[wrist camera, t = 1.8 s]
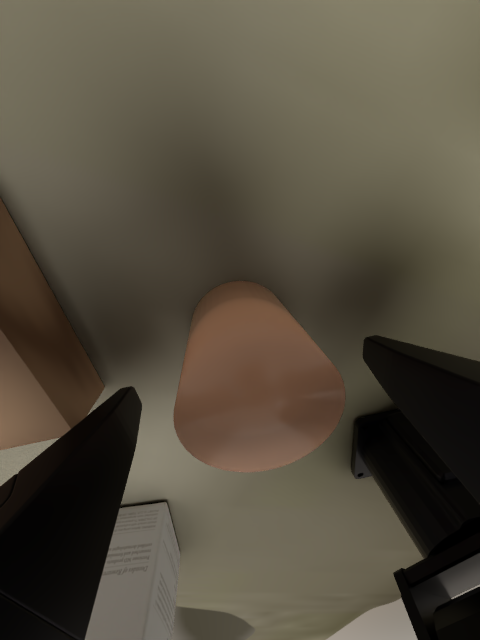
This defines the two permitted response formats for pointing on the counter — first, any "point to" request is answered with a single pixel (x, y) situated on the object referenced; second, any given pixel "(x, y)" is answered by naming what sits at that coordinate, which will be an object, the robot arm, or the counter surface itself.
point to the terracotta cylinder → (253, 383)
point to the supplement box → (138, 578)
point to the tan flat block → (37, 352)
